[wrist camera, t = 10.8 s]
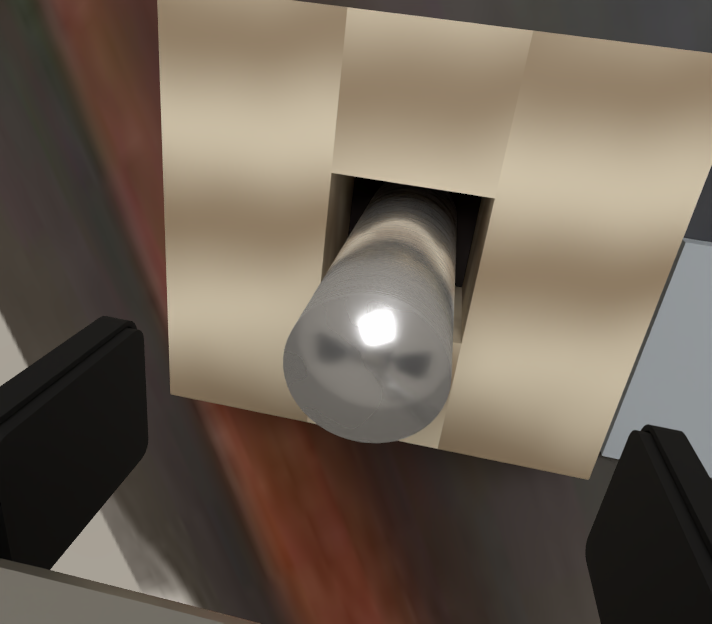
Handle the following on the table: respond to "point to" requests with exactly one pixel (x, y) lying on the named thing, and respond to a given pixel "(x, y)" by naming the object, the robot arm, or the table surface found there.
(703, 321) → the mat
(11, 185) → the table surface
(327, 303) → the peg
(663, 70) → the hole block
